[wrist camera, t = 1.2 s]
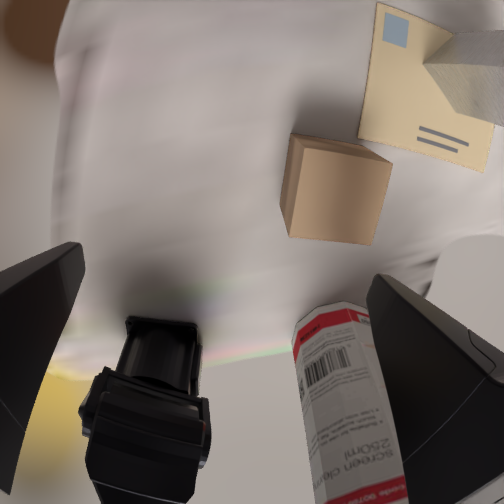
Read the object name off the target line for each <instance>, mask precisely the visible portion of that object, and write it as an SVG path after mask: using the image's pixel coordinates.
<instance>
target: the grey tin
mask: <svg viewBox="0 0 504 504" xmlns="http://www.w3.org/2000/svg"><path fill="white" fill-rule="evenodd" d="M423 66H424V67H425V68H426V70H427V71H428V72H429V74H430V75H431V77H432V78H433V79H434V81H435V82H436V84H437V85H438V87H439V88H440V90H441V91H442V92H443V94H444V95H445V97H446V99H447V100H448V102H449V103H450V105H451V106H452V108H453V110H454V111H455V113H458V114H462V115H466V116H470V117H473V118H477V119H480V120H483V121H487V122H490V123H493V124H496V125H500V126H503V127H504V30H494V31H477V32H465V33H455V34H454V35H453V36H452V37H451V38H450V39H449V40H448V41H447V42H445V43H444V44H443V45H442V46H441V47H440V48H439V49H438V50H437V51H436V52H435V53H434V54H432V55H431V56H430V57H429V58H428V59H427V60H426V61H425V62H424V63H423Z"/></svg>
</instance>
